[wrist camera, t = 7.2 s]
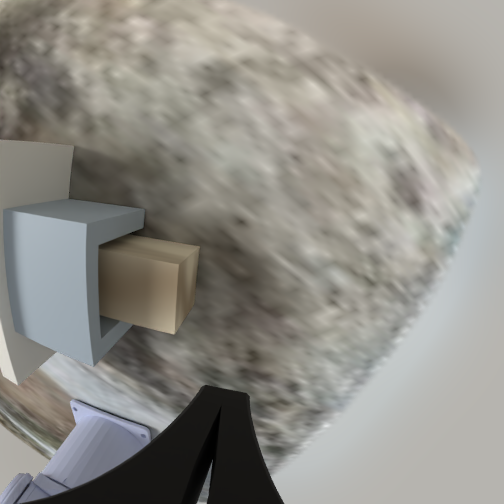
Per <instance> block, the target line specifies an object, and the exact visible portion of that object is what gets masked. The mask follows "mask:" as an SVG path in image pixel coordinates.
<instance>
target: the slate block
mask: <svg viewBox="0 0 504 504" xmlns="http://www.w3.org/2000/svg"><path fill="white" fill-rule="evenodd" d="M144 215H145V209H140V208H133V207H126V206H119V205H112V204H105V203H97V202H90V201H82V200H74V199H62V200H55V201H49V202H42V203H36V204H30V205H24V206H18V207H13V208H7V209H3V235H4V255H5V267H6V277H7V286H8V294H9V300H10V307H11V313H12V318H13V323H14V328H15V332H17V333H19V334H21V335H23V336H25V337H27V338H29V339H31V340H33V341H35V342H37V343H39V344H41V345H43V346H45V347H48V348H50V349H52V350H54V351H56V352H59V353H61V354H63V355H66V356H68V357H70V358H73V359H75V360H78V361H80V362H83V363H85V364H88V365H90V366H93V367H94V366H95V365H96V364H97V363H98V362H99V361H100V360H101V358H102V357H103V356H104V355H105V354H106V353H107V352H108V351H109V350H110V349H111V348H112V347H113V346H114V345H115V343H116V342H117V341H118V340H119V339H120V338H121V337H122V336H123V335H124V334H125V333H126V332H127V331H128V330H129V329H130V328H131V327H132V326H133V325H134V324H130V323H127V322H123V321H119V320H116V319H112V318H109V317H105V316H102V315H99V294H98V245H100V244H103V243H105V242H108V241H110V240H113V239H115V238H118V237H121V236H123V235H126V234H128V233H131V232H134V231H136V230H139V229H142V228H143V226H144Z"/></svg>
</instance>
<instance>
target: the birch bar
mask: <svg viewBox="0 0 504 504" xmlns="http://www.w3.org/2000/svg"><path fill="white" fill-rule="evenodd" d="M199 250H200V246H195V245H189V244H183V243H177V242H171V241H165V240H159V239H153V238H147V237H141V236H135V235H130V234H126V235H123V236H121V237H118V238H115V239H113V240H110V241H108V242H105V243H103V244H100V245H98V294H99V315H102V316H105V317H109V318H112V319H116V320H119V321H123V322H127V323H130V324H134V325H138V326H142V327H145V328H149V329H153V330H157V331H161V332H166V333H170V334H174V335H175V333H176V331H177V330H178V328H179V327H180V325H181V324H182V322H183V321H184V319H185V318H186V316H187V315H188V313H189V312H190V310H191V309H192V307H193V306H194V301H195V289H196V279H197V269H198V259H199Z"/></svg>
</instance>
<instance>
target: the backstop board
mask: <svg viewBox="0 0 504 504" xmlns="http://www.w3.org/2000/svg"><path fill="white" fill-rule="evenodd" d="M73 151H74V146H72V145H63V144H53V143H42V142H30V141H16V140H0V368H1V371H2V374H3V376H4V377H6V378H7V379H9V380H10V381H12V382H13V383H15V384H17V385H18V386H19V385H20V384H21V383H22V382H23V381H24V380H25V379H26V378H27V377H29V376H30V375H31V374H32V373H33V372H34V371H35V370H36V369H38V368H39V367H40V366H41V365H42V364H43V363H44V362H46V361H47V360H48V359H49V358H50V357H51V356H53V355H54V354H55V353H56V351H54V350H52V349H50V348H48V347H45V346H43V345H41V344H39V343H37V342H35V341H33V340H31V339H29V338H27V337H25V336H23V335H21V334H19V333H17V332H15V328H14V323H13V318H12V313H11V307H10V300H9V294H8V286H7V277H6V267H5V255H4V235H3V209H7V208H13V207H18V206H24V205H30V204H36V203H42V202H49V201H55V200H62V199H69V188H70V177H71V167H72V159H73Z"/></svg>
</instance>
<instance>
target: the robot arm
mask: <svg viewBox="0 0 504 504" xmlns="http://www.w3.org/2000/svg"><path fill="white" fill-rule="evenodd" d="M249 399H250V396H249V395H248V394H247V393H244V392H238V391H233V390H228V389H223V388H218V387H213V386H209V385H205V386H202V387H201V389H200V390H199V392H198V393H197V395H196V396H195V397H194V399H193V400H192V401H191V402H190V404H189V405H188V406H187V407H186V408H185V409H184V410H183V412H182V413H181V414H180V415H179V416H178V417H177V418H176V419H175V420H174V421H173V422H172V423H171V424H170V425H169V426H168V427H167V428H166V429H165V430H164V431H163V432H161V433H160V434H159V435H158V436H157V437H156V438H155V439H153V440H152V441H151V436H150V430H149V429H148V428H147V427H145V426H142V425H139V424H136V423H133V422H130V421H127V420H124V419H121V418H119V417H116V416H113V415H111V414H108V413H106V412H103V411H101V410H98V409H96V408H93V407H91V406H89V405H86V404H84V403H82V402H79V401H77V400H75V399H72V400H71V402H70V404H71V408H72V411H73V414H74V418H75V421H76V424H77V425H76V426H75V428H74V429H73V430H72V432H71V433H70V434H69V436H68V437H67V438H66V440H65V441H64V442H63V444H62V445H61V446H60V448H59V449H58V450H57V452H56V453H55V455H54V456H53V457H52V459H51V460H50V461H49V463H48V464H47V465H46V467H45V468H44V470H43V471H42V472H41V473H40V472H39V474H38V475H37V476H36V478H35V479H34V481H32V479H33V477H32V476H31V475H30V474H29V473H26V474H23V473H19V474H18V475H17V476H16V477H15V478H14V479H13V480H12V481H11V482H10V484H9V485H8V486H7V487H6V489H5V490H4V491H3V493H2V494H1V496H0V504H197V501H198V498H199V496H200V493H201V490H202V487H203V485H204V482H205V479H206V476H207V474H208V471H209V468H210V465H211V462H212V460H213V462H212V470H211V479H210V488H209V496H208V500H207V504H284V502H283V500H282V499H281V497H280V495H279V493H278V491H277V489H276V487H275V485H274V483H273V481H272V479H271V476H270V474H269V472H268V469H267V467H266V464H265V462H264V459H263V456H262V453H261V450H260V447H259V444H258V441H257V437H256V434H255V430H254V426H253V422H252V417H251V411H250V400H249Z"/></svg>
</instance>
